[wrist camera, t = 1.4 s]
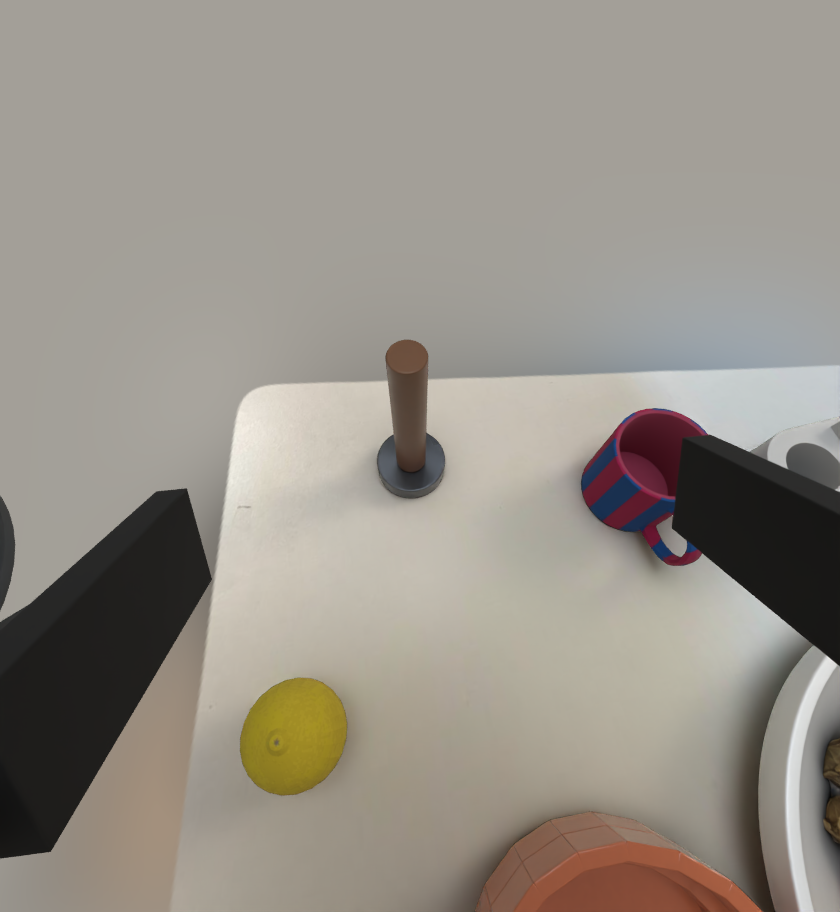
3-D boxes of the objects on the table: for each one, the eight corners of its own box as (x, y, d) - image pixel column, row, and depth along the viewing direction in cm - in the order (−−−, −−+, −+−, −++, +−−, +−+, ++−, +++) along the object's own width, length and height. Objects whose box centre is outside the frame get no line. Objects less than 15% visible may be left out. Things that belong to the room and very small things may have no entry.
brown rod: (372, 493, 36) (346, 392, 23) (385, 434, 38) (367, 311, 25) (439, 503, 36) (450, 405, 23) (447, 443, 38) (462, 322, 25)
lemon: (355, 773, 28) (332, 809, 21) (264, 780, 28) (209, 818, 21) (355, 673, 31) (335, 674, 23) (270, 679, 30) (224, 682, 23)
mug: (655, 449, 38) (701, 405, 31) (692, 574, 33) (753, 552, 27) (573, 453, 37) (603, 410, 31) (599, 579, 33) (641, 558, 27)
